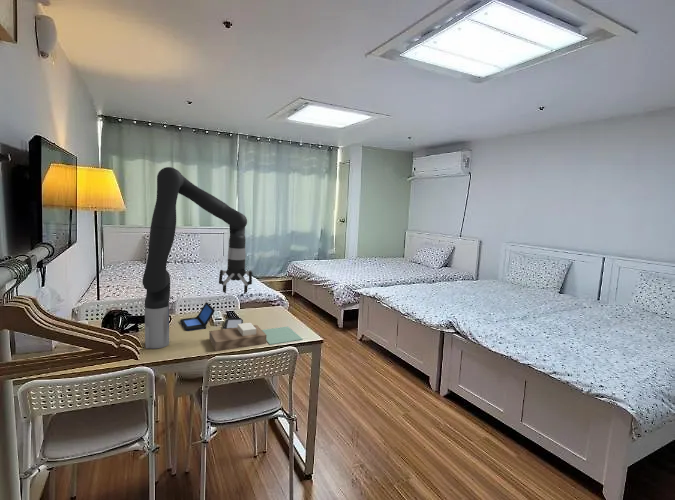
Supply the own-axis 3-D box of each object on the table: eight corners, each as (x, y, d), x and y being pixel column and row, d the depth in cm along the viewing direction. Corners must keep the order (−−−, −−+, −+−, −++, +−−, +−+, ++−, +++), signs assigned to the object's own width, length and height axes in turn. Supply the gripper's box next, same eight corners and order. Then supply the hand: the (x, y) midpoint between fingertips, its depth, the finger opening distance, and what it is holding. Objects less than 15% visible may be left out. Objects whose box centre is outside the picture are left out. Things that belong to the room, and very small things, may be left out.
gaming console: (225, 321, 192) (225, 316, 191) (243, 321, 194) (243, 316, 193) (222, 335, 173) (222, 330, 173) (242, 334, 175) (242, 329, 175)
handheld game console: (179, 321, 187) (179, 304, 185) (206, 318, 194) (206, 301, 193) (186, 332, 174) (186, 313, 173) (215, 327, 181) (215, 309, 180)
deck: (215, 351, 154) (216, 342, 153) (209, 339, 166) (209, 330, 165) (266, 343, 165) (266, 335, 164) (256, 332, 177) (256, 324, 176)
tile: (242, 336, 162) (242, 330, 161) (237, 329, 169) (237, 323, 169) (256, 334, 165) (256, 328, 164) (250, 327, 172) (250, 322, 172)
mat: (269, 344, 164) (269, 344, 164) (257, 331, 179) (257, 330, 179) (302, 339, 172) (302, 338, 172) (288, 327, 187) (288, 326, 187)
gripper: (219, 258, 157) (217, 295, 159) (253, 259, 161) (251, 295, 163) (220, 255, 165) (219, 290, 167) (252, 256, 168) (251, 291, 170)
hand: (235, 293), depth 165 cm, fingers open, 8 cm apart
